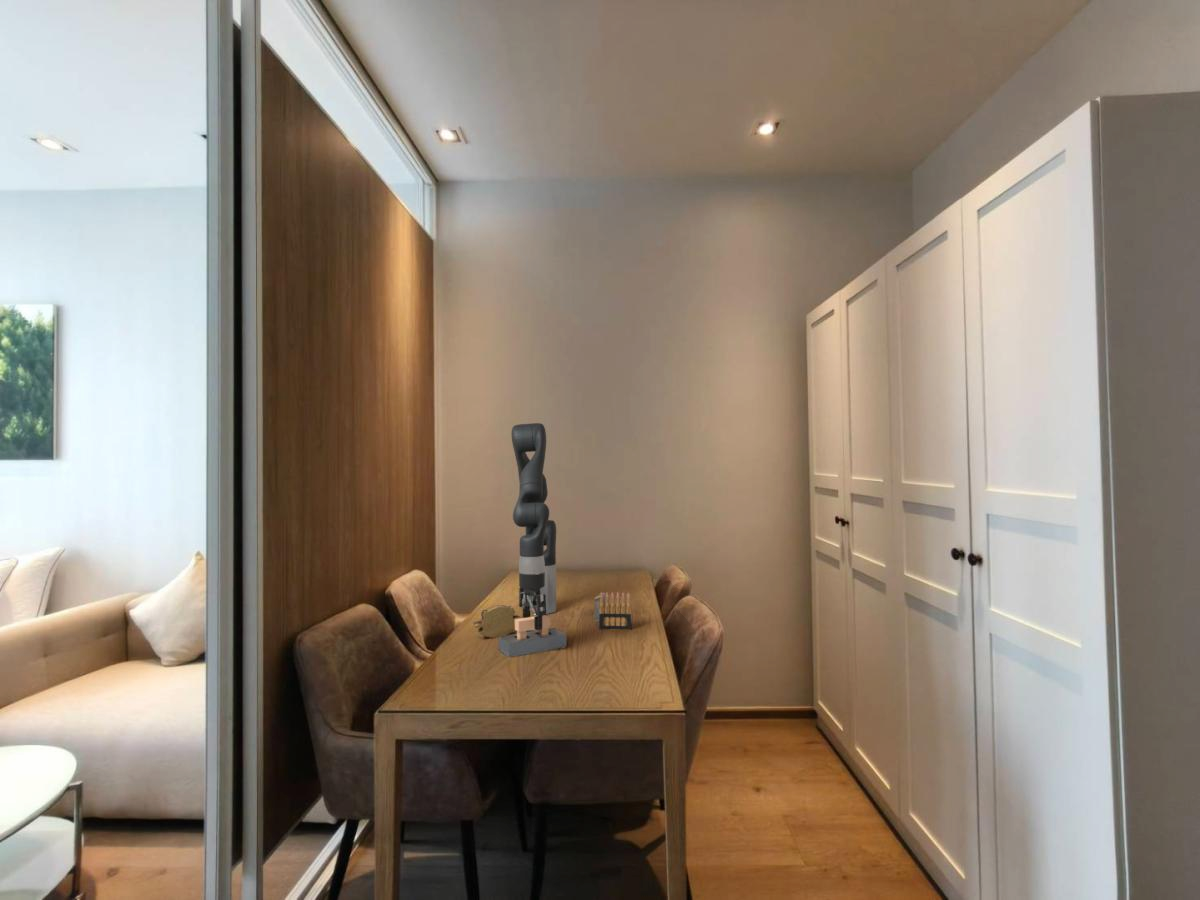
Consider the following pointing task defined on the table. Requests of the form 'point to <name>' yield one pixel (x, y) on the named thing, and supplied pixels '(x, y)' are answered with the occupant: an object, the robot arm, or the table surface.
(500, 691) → the table surface
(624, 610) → the ammunition clip
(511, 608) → the wooden carving
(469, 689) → the table surface
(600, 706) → the table surface
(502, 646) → the grey socket block
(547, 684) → the table surface
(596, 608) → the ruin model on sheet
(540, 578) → the robot arm
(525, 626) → the prong clip
